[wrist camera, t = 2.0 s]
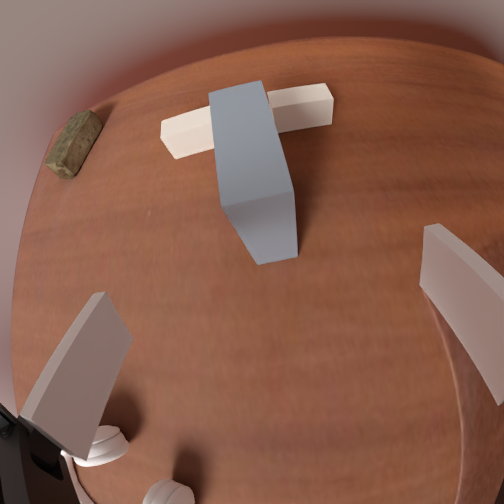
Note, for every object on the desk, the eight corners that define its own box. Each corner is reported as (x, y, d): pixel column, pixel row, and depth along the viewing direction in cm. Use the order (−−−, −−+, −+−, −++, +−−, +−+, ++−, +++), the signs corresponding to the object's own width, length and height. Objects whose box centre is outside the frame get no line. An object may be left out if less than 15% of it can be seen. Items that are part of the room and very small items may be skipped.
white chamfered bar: (324, 108, 32) (325, 83, 27) (331, 124, 31) (333, 98, 26) (175, 142, 34) (161, 121, 30) (175, 159, 33) (160, 138, 29)
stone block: (107, 124, 39) (92, 106, 34) (76, 181, 36) (57, 166, 31) (87, 126, 40) (72, 111, 35) (58, 180, 38) (39, 167, 33)
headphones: (58, 409, 19) (42, 479, 19) (203, 538, 13) (139, 567, 13) (103, 395, 25) (73, 466, 26) (229, 499, 20) (163, 543, 20)
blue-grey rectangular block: (242, 178, 30) (208, 92, 18) (277, 171, 30) (261, 80, 18) (257, 264, 27) (221, 207, 15) (297, 256, 27) (294, 191, 14)
